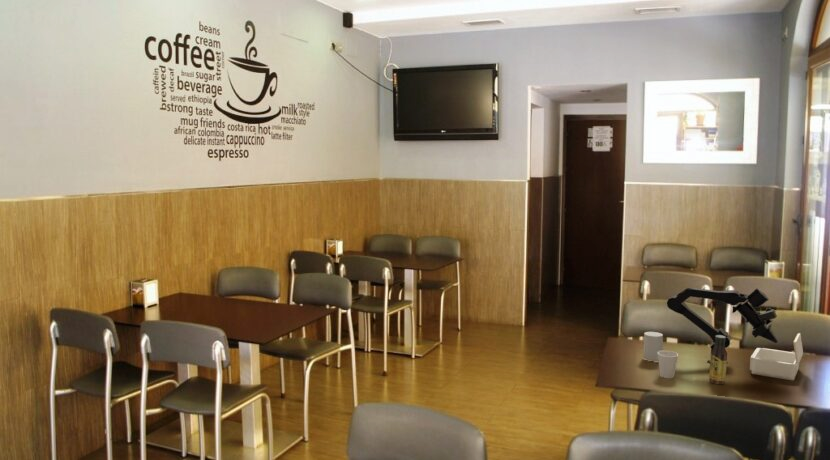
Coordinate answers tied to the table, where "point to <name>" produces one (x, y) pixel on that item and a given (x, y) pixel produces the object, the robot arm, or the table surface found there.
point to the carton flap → (798, 348)
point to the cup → (652, 345)
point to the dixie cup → (667, 363)
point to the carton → (774, 363)
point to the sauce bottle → (718, 361)
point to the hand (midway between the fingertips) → (777, 342)
